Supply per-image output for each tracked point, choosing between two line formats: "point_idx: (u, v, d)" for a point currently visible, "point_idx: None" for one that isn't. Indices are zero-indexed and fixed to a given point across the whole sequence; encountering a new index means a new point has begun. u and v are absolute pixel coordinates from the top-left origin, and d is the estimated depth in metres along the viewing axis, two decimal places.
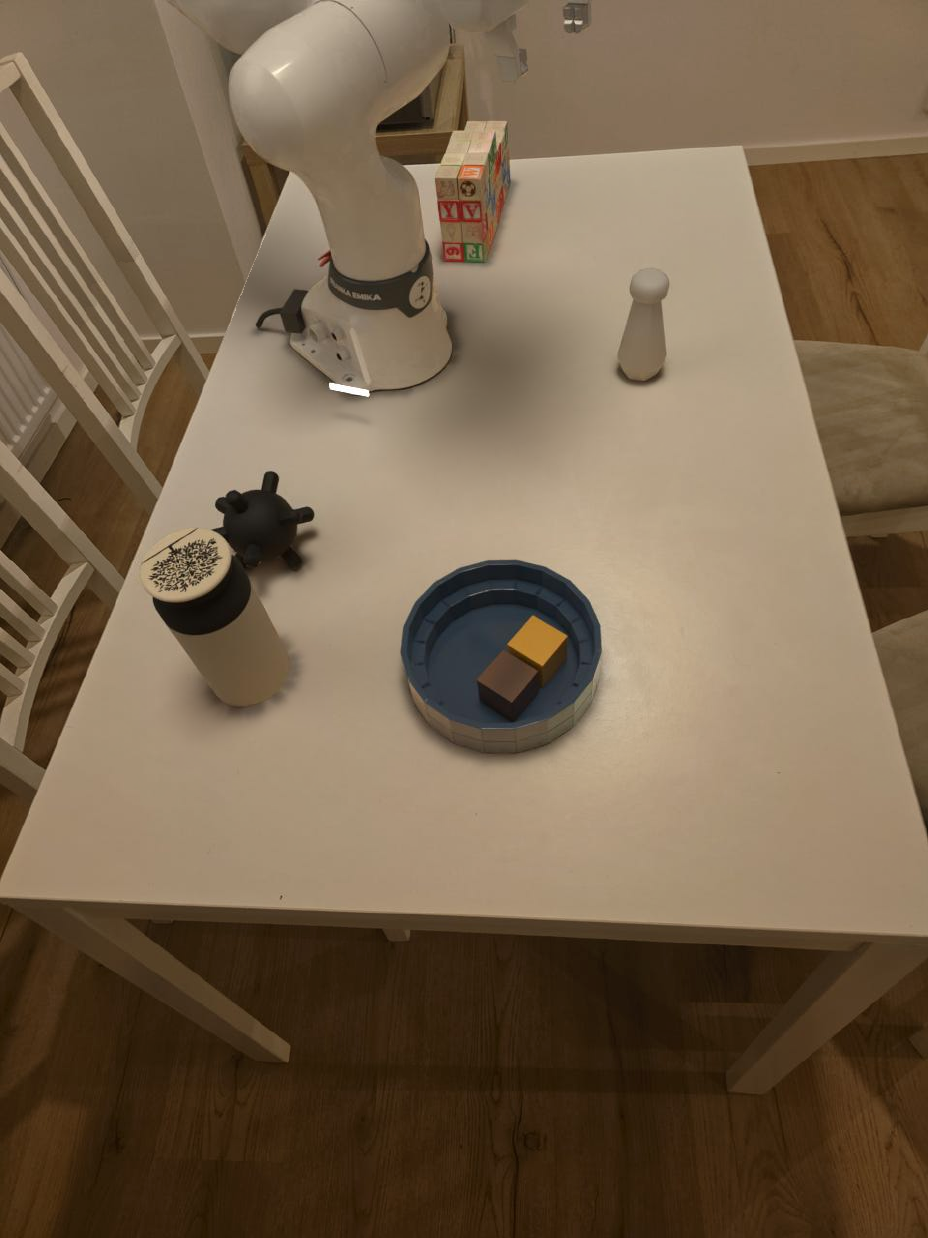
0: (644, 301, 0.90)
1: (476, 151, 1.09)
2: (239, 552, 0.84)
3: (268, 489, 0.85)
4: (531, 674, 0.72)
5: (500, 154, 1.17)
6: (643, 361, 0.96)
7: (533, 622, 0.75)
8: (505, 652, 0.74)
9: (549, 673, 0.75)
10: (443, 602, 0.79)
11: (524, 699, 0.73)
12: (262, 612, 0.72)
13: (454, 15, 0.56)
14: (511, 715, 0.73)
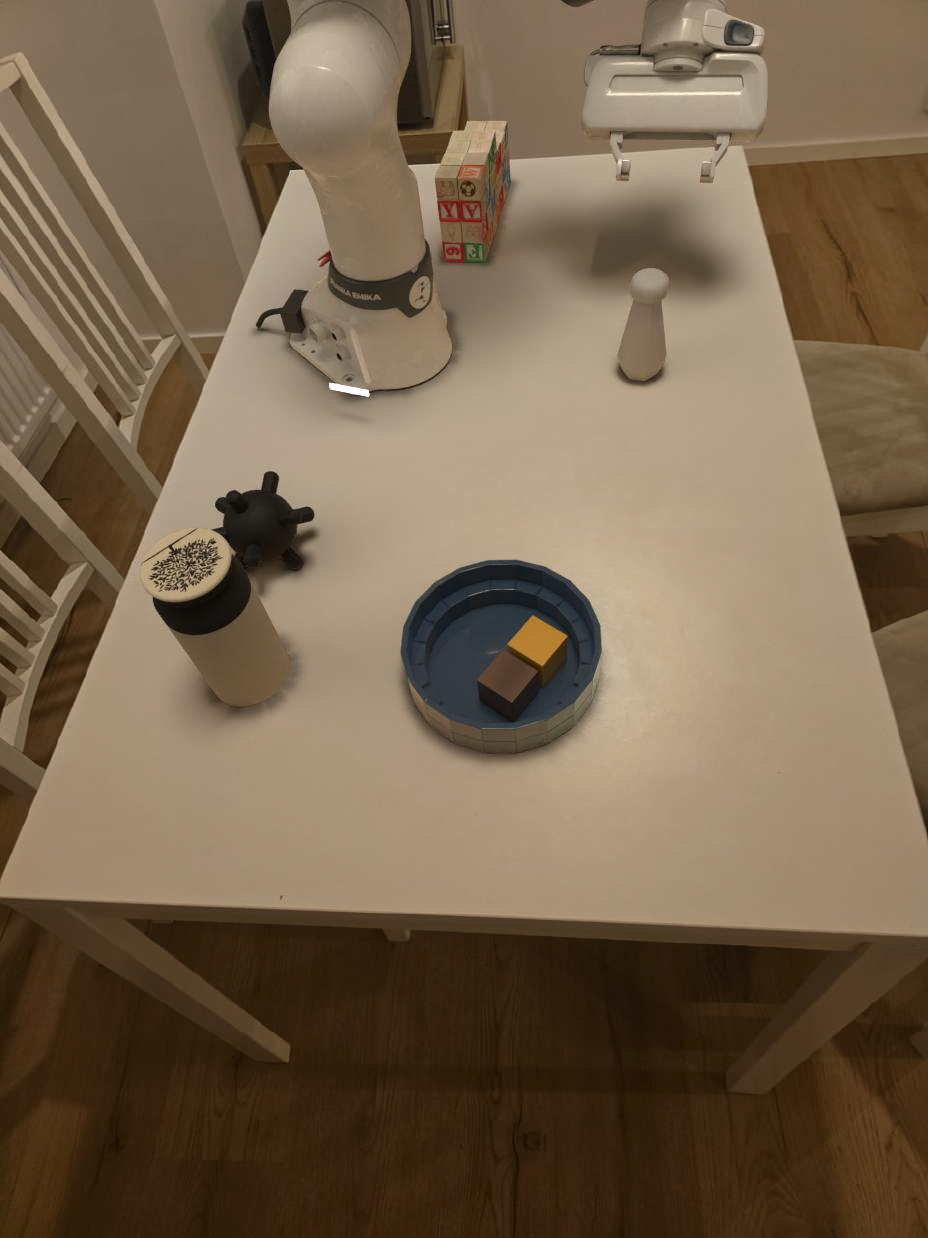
0: (644, 301, 0.90)
1: (476, 151, 1.09)
2: (239, 552, 0.84)
3: (268, 489, 0.85)
4: (531, 674, 0.72)
5: (500, 154, 1.17)
6: (643, 361, 0.96)
7: (533, 622, 0.75)
8: (505, 652, 0.74)
9: (549, 673, 0.75)
10: (443, 602, 0.79)
11: (524, 699, 0.73)
12: (262, 612, 0.72)
13: None
14: (511, 715, 0.73)
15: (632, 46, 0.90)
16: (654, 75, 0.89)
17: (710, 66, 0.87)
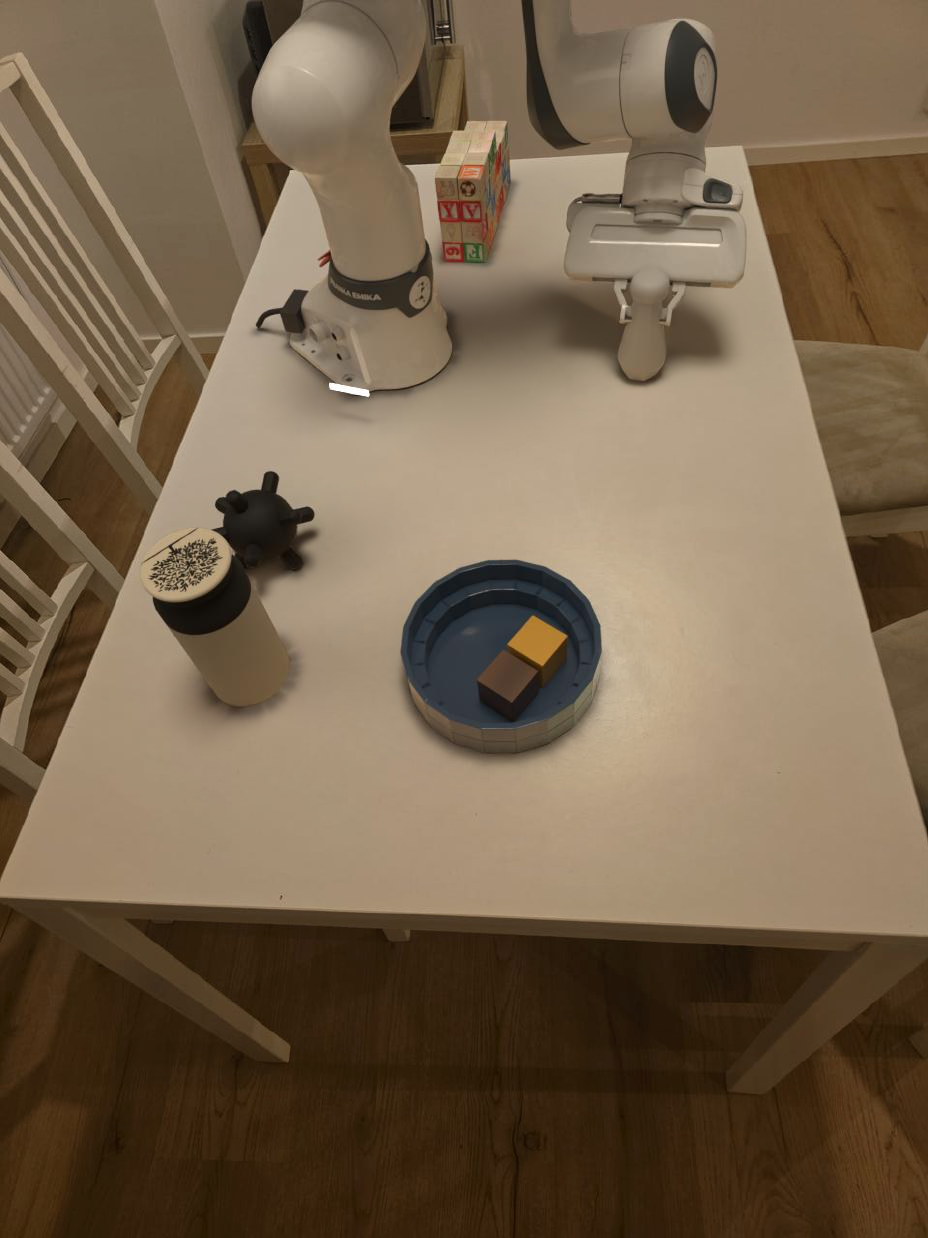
0: (644, 301, 0.90)
1: (476, 151, 1.09)
2: (239, 552, 0.84)
3: (268, 489, 0.85)
4: (531, 674, 0.72)
5: (500, 154, 1.17)
6: (643, 361, 0.96)
7: (533, 622, 0.75)
8: (505, 652, 0.74)
9: (549, 673, 0.75)
10: (443, 602, 0.79)
11: (524, 699, 0.73)
12: (262, 612, 0.72)
13: None
14: (511, 715, 0.73)
15: (613, 196, 0.92)
16: (635, 225, 0.91)
17: (689, 220, 0.89)
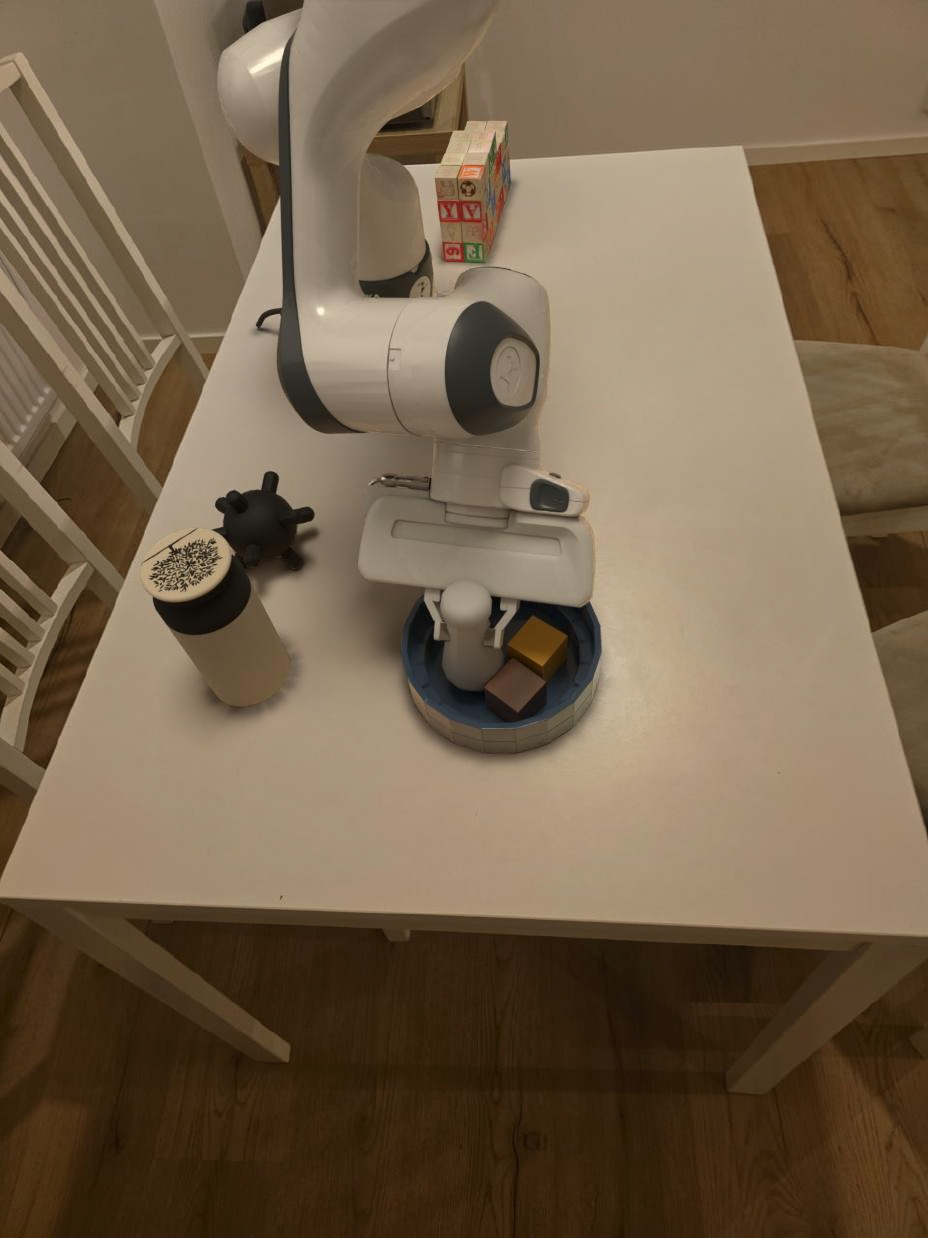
0: (463, 629, 0.66)
1: (476, 151, 1.09)
2: (239, 552, 0.84)
3: (268, 489, 0.85)
4: (539, 684, 0.72)
5: (500, 154, 1.17)
6: (476, 680, 0.72)
7: (533, 622, 0.75)
8: (514, 661, 0.73)
9: (549, 673, 0.75)
10: None
11: (531, 709, 0.73)
12: (262, 612, 0.72)
13: (592, 593, 0.66)
14: None
15: (421, 481, 0.68)
16: (447, 525, 0.67)
17: (516, 526, 0.65)
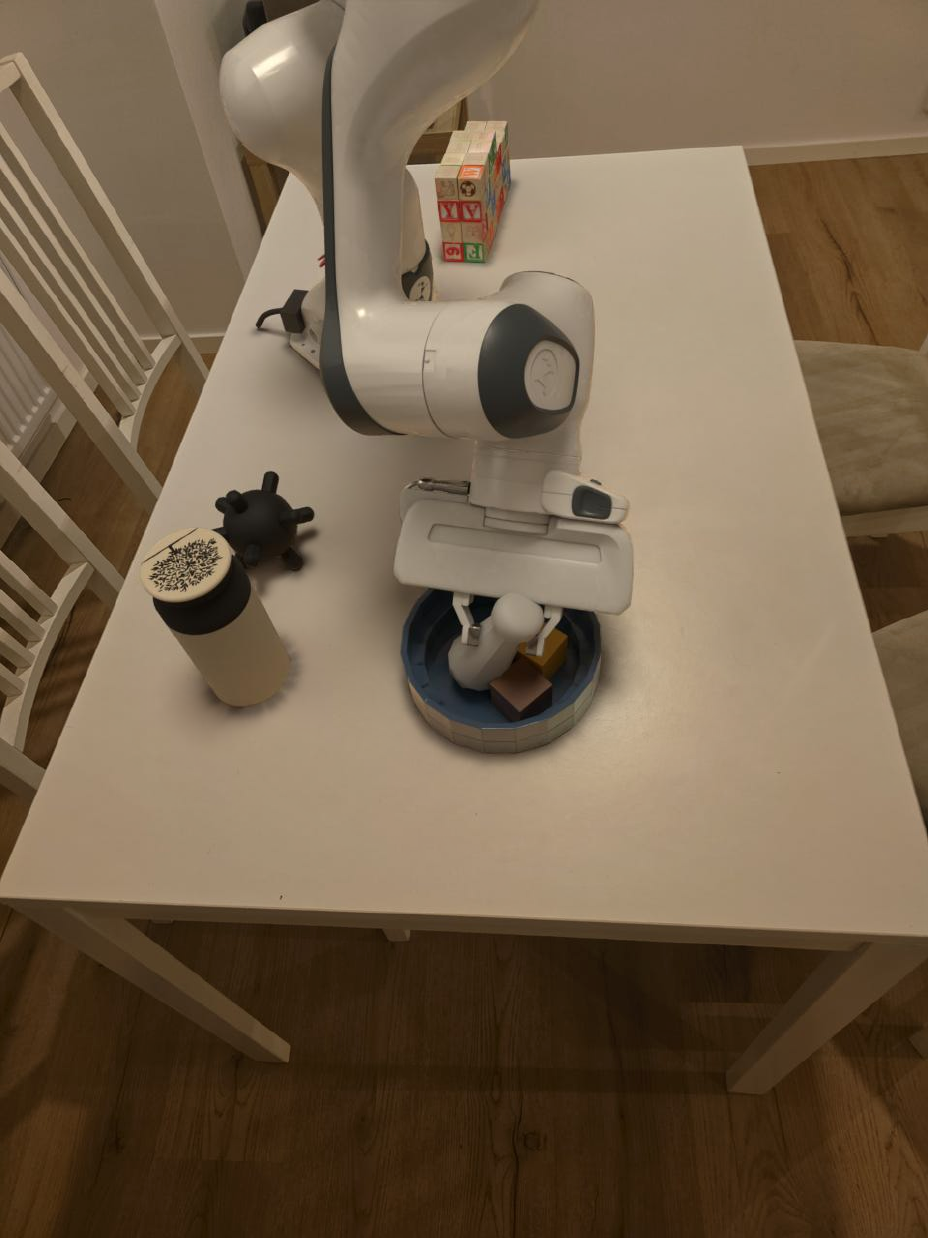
0: (517, 642, 0.66)
1: (476, 151, 1.09)
2: (239, 552, 0.84)
3: (268, 489, 0.85)
4: (544, 686, 0.71)
5: (500, 154, 1.17)
6: None
7: None
8: (523, 660, 0.73)
9: (549, 673, 0.75)
10: (443, 602, 0.79)
11: (534, 710, 0.73)
12: (262, 612, 0.72)
13: None
14: None
15: (459, 485, 0.67)
16: (486, 530, 0.66)
17: (556, 533, 0.65)
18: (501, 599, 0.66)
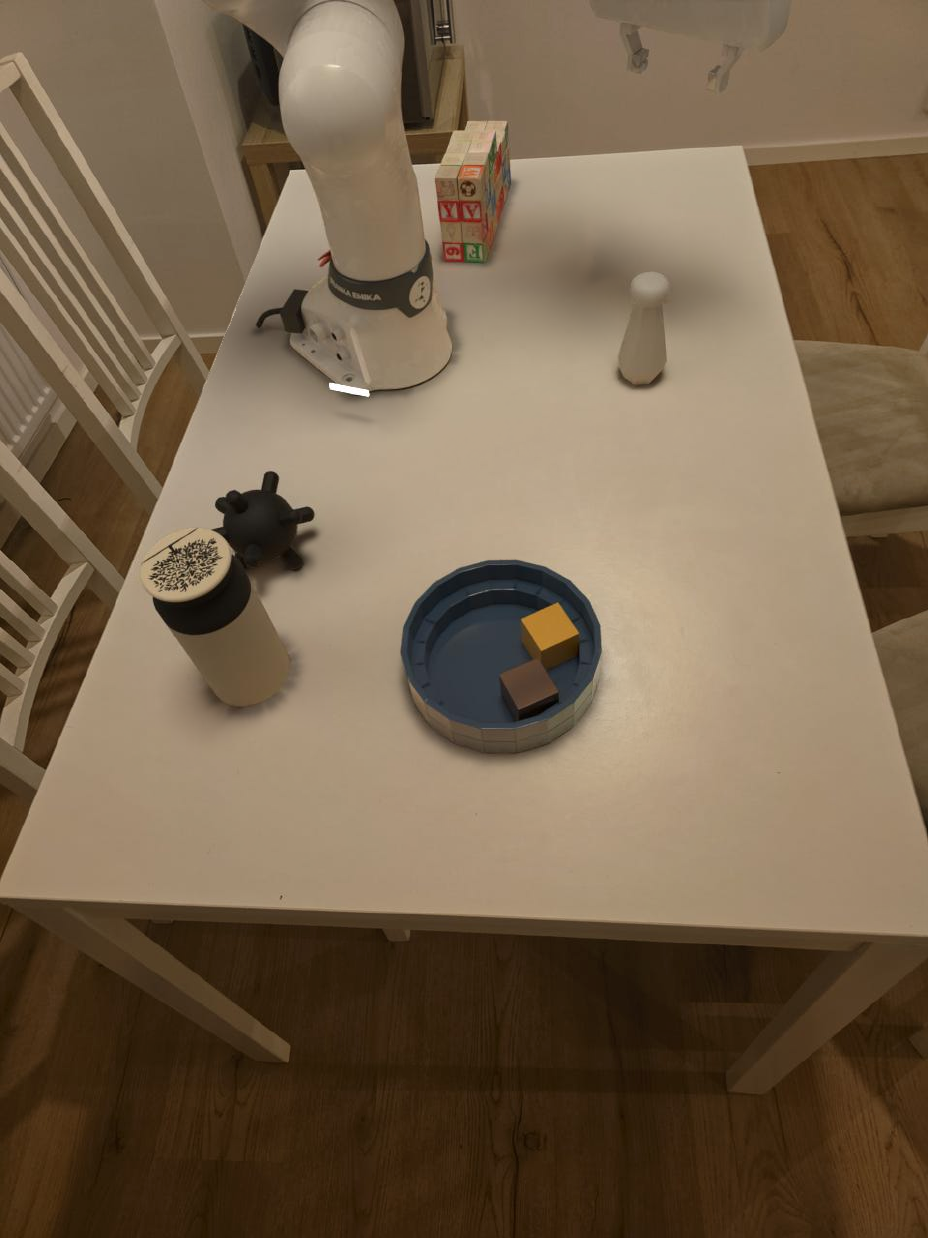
0: (650, 305, 0.89)
1: (476, 151, 1.09)
2: (239, 552, 0.84)
3: (268, 489, 0.85)
4: (550, 692, 0.71)
5: (500, 154, 1.17)
6: (650, 364, 0.95)
7: (555, 609, 0.76)
8: (538, 661, 0.73)
9: (551, 661, 0.76)
10: (443, 602, 0.79)
11: (536, 712, 0.72)
12: (262, 612, 0.72)
13: (775, 35, 0.75)
14: None
15: None
16: None
17: None
18: (634, 278, 0.90)
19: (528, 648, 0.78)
